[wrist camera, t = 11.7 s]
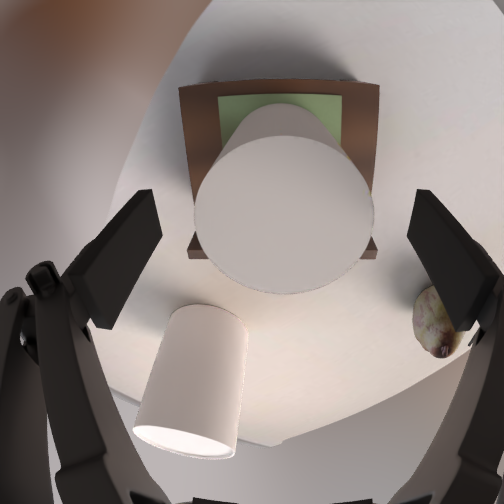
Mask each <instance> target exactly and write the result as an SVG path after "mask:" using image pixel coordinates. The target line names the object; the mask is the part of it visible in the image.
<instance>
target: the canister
mask: <svg viewBox="0 0 504 504" xmlns="http://www.w3.org/2000/svg"><path fill="white" fill-rule="evenodd" d="M248 339H249V334H248V330H247V328H246V326H245V325H244V323H243V322H242V321H241V320H240V319H239V318H238V317H236V316H235V315H233V314H232V313H230V312H228V311H226V310H224V309H221V308H218V307H215V306H210V305H203V304H194V305H187V306H184V307H181V308H179V309H177V310H176V311H175V312H173V314H172V315H171V317H170V319H169V322H168V324H167V327H166V330H165V333H164V336H163V338H162V341H161V344H160V347H159V350H158V353H157V356H156V359H155V361H154V364H153V367H152V370H151V373H150V376H149V379H148V382H147V386H146V389H145V392H144V395H143V398H142V401H141V404H140V408H139V411H138V414H137V417H136V421H135V424H134V427H133V432H134V433H135V435H137V436H138V437H139V438H140V439H142V440H143V441H145V442H147V443H149V444H151V445H153V446H155V447H158V448H160V449H163V450H166V451H169V452H173V453H176V454H179V455H184V456H188V457H194V458H202V459H226V458H230V457H232V456H234V455H235V450H236V442H237V433H238V425H239V417H240V408H241V400H242V391H243V383H244V374H245V365H246V357H247V348H248Z"/></svg>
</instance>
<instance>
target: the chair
mask: <svg viewBox="0 0 504 504" xmlns="http://www.w3.org/2000/svg"><path fill="white" fill-rule="evenodd" d="M379 87H380V86H379V85H376V84H371V83H365V82H360V81H350V80H340V81H336V80H318V79H257V80H239V81H226V82H218V81H214V82H205V83H198V84H192V85H188V86H183V87H179V88H178V89H179V98H180V107H181V115H182V123H183V131H184V139H185V146H186V153H187V160H188V167H189V174H190V181H191V187H192V194H193V200H194V206H195V201H196V197H197V194H198V191H199V188H200V186H201V184H202V182H203V180H204V178H205V177H206V175H207V173H208V172H209V170H210V169H211V167H212V165H213V164H214V162H215V161H216V159H217V158H218V156H219V155H220V153H221V151H222V150H223V148H224V147H225V145H226V144H227V142H228V141H229V139H230V138H231V136H232V135H233V133H234V132H235V130H236V129H237V127H238V126H239V124H240V123H241V122H242V121H243V119H244V118H245V117H246V116H247V115H249V114H250V113H251V112H253V111H254V110H256V109H258V108H260V107H263V106H266V105H270V104H275V103H286V104H293V105H296V106H299V107H302V108H304V109H306V110H308V111H309V112H311V113H312V114H314V115H315V116H316V117H317V118H318V119H319V120H320V121H321V122H322V124H323V125H324V126H325V127H326V129H327V130H328V131H329V132H330V133H331V135H332V136H333V137H334V139H335V140H336V141H337V142H338V144H339V145H340V146H341V148H342V149H343V150H344V151H345V153H346V154H347V155H348V157H349V158H350V160H351V161H352V162H353V164H354V165H355V166H356V168H357V169H358V170H359V172H360V173H361V175H362V176H363V178H364V180H365V181H366V183H367V185H368V188H369V190H370V193H371V192H372V184H373V175H374V166H375V156H376V145H377V131H378V115H379ZM377 251H378V250H377V247H376V245H375V243H374V241H373V238H372V236H371V237H370V240H369V243H368V245H367V247H366V249H365V251H364V252H363V254H362V256H361V257H360V258H359V259H376V255H377ZM187 252H188V257H189V259H209V258H208V257H207V255H206V254H205V252H204V251H203V249H202V247H201V245H200V242H199V240H198V237H197V234H196V231H195V233H194V235H193V238H192V240H191V242H190V244H189V246H188V249H187Z"/></svg>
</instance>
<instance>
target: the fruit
mask: <svg viewBox="0 0 504 504" xmlns="http://www.w3.org/2000/svg"><path fill="white" fill-rule="evenodd" d="M412 320H413V329H414V334H415V337H416V339H417V340H418V341H419V342H420V343H421V345H422V347H423V348H424V349H425V350H426V351H428V352H430V353H431V354H432V355H433V356H434V357H436V358H447V357H449V356H450V355H452V354H453V353H454V352H455V351H456V350H457V348H458V346H459V344H460V342H461V340H462V338H463V336H464V334H465V332H466V331H462V332H455V330H454V327H453V325H452V323H451V321H450V318H449V316H448V314H447V312H446V310H445V307H444V305H443V303H442V301H441V299H440V297H439V295H438V293H437V291H436V289H435V287H434V285H433V286H431V287H429V288H427V289H425V290H424V291H422V292H421V294H420V295H419V296H418V298H417V300H416V301H415V304H414V309H413V318H412Z"/></svg>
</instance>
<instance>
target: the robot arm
mask: <svg viewBox="0 0 504 504" xmlns="http://www.w3.org/2000/svg"><path fill="white" fill-rule="evenodd" d="M162 236H163V235H162V231H161V226H160V222H159V218H158V214H157V210H156V205H155V201H154V197H153V192H152V189H147V190H138V191H137V192H136V194H135V195H134V196H133V197H132V198H131V199H130V200H129V201H128V202H127V203H126V204H125V205H124V206H123V207H122V209H121V210H120V211H119V212H118V213H117V214H116V215H115V216H114V217H113V219H112V220H111V221H110V222H109V223H108V224H107V225H106V227H105V228H104V229H103V230H102V231H101V232H100V234H99V235H98V236H97V237H96V238H95V239H94V240H92V241H91V242H90V243H88V244H87V245H86V246H85V247H84V248H83V249H82V250H81V252H80V253H79V255H77V257H76V258H75V259H74V261H73V262H72V263H71V264H70V266H69V267H68V268H67V269H66V270H65V272H64V273H63V274H62V276H61V277H60V276H59V274H58V272H57V270H56V268H55V266H54V264H53V262H51V261H44V262H41V263H39V264H37V265H35V266H34V267H33V268H32V269H31V270H30V271H29V272H28V273H27V275H26V278H25V279H26V281H27V283H28V285H29V286H30V288H31V290H32V292H33V293H34V295H29V296H26V295H25V293H24V291H23V290H22V288H20V287H15V288H13V289H10V290H9V291H7V292H6V293H5V295H4V296H3V297H2V299H1V301H0V504H54V500H53V493H52V485H51V477H50V468H49V456H48V441H47V414H48V419H49V422H50V427H51V431H52V435H53V439H54V442H55V446H56V449H57V453H58V456H59V459H60V463H61V469H60V470H59V471H58V472H57V473H56V474H55V482H56V487H57V489H58V492H59V495H60V497H61V500H62V503H63V504H171V502H170V501H169V499H168V497H167V496H166V494H165V493H164V492H163V490H162V489H161V488H160V486H159V485H158V484H157V483H156V482H155V481H154V480H153V479H152V477H151V476H150V475H149V473H148V471H147V470H146V468H145V466H144V465H143V462H142V460H141V458H140V457H139V455H138V453H137V451H136V449H135V447H134V445H133V443H132V441H131V439H130V436H129V434H128V432H127V430H126V428H125V426H124V423H123V421H122V419H121V416H120V414H119V412H118V409H117V407H116V405H115V402H114V400H113V397H112V395H111V392H110V389H109V387H108V384H107V381H106V379H105V376H104V373H103V370H102V367H101V364H100V361H99V358H98V355H97V352H96V349H95V345H94V342H93V339H92V335H91V332H90V329H89V328H88V326H87V323H88V321H89V319H90V318H91V319H92V321H93V323H94V324H95V326H96V328H102V329H109V330H112V328H113V326H114V324H115V322H116V320H117V318H118V316H119V314H120V312H121V310H122V308H123V306H124V304H125V302H126V300H127V299H128V297H129V295H130V293H131V291H132V289H133V287H134V285H135V284H136V282H137V280H138V278H139V276H140V274H141V273H142V271H143V269H144V267H145V265H146V264H147V262H148V260H149V258H150V257H151V255H152V253H153V251H154V250H155V248H156V246H157V245H158V243H159V241H160V239H161V238H162ZM407 238H408V239H409V241H410V243H411V244H412V246H413V248H414V250H415V251H416V253H417V255H418V257H419V259H420V260H421V262H422V264H423V266H424V268H425V270H426V271H427V273H428V275H429V277H430V279H431V281H432V283H433V285H434V287H435V289H436V291H437V293H438V295H439V297H440V299H441V301H442V303H443V305H444V307H445V310H446V312H447V314H448V316H449V318H450V321H451V323H452V325H453V327H454V330H455V332H462V331H469V330H470V329H471V328H472V326H473V324H474V323H475V321H476V320H477V321H478V323H479V325H480V327H479V329H478V330H477V332H476V333H475V335H474V336H473V338H472V339H471V341H470V342H469V344H468V346H470V345H471V344H472V343H473V345H472V348H471V351H470V354H469V357H468V360H467V363H466V366H465V369H464V372H463V374H462V377H461V380H460V382H459V385H458V387H457V390H456V392H455V395H454V397H453V400H452V402H451V404H450V407H449V409H448V411H447V413H446V415H445V417H444V419H443V422H442V424H441V426H440V428H439V430H438V432H437V434H436V436H435V437H434V439H433V441H432V443H431V445H430V447H429V449H428V450H427V453H426V454H425V456H424V458H423V459H422V461H421V462H420V464H419V466H418V467H417V469H416V471H415V472H414V474H413V475H412V477H411V478H410V480H409V481H408V482H407V483H406V484H405V485H404V486H403V487H401V488H400V489H399V490H398V492H397V493H396V494H395V495H394V496H393V497H392V499H391V500H390V501H389V503H388V504H494V502H495V500H496V498H497V496H498V499H497V503H496V504H504V475H503V479H502V477H501V476H499V475H498V474H497V468H498V465H499V462H500V460H501V456H502V454H503V451H504V275H503V274H502V272H501V271H500V269H499V268H498V267H497V265H496V264H495V263H494V261H492V258H491V257H490V256H489V255H488V253H487V252H486V251H485V249H484V248H483V247H482V246H481V245H480V244H479V243H478V242H476V241H475V240H474V239H472V238H471V236H470V235H469V234H468V233H467V231H466V230H465V229H464V228H463V227H462V225H461V224H460V223H459V222H458V221H457V220H456V218H455V217H454V216H453V215H452V214H451V213H450V212H449V210H448V209H447V208H446V207H445V206H444V205H443V204H442V203H441V202H440V201H439V200H438V198H437V197H436V196H435V195H434V194H433V193H432V192H431V191H430V190H422V189H417V192H416V197H415V202H414V207H413V211H412V216H411V220H410V224H409V229H408V233H407ZM20 336H21V337H22V338H23V340H24V344H23V345H21V341H20ZM499 491H500V492H499ZM498 494H499V495H498ZM178 504H237V503H230V502H221V501H214V500H207V499H201V498H195V497H193V501H192V502H183V503H178ZM334 504H376V503H373V502H372V499H366V500H360V501H353V502H344V503H334Z"/></svg>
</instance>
